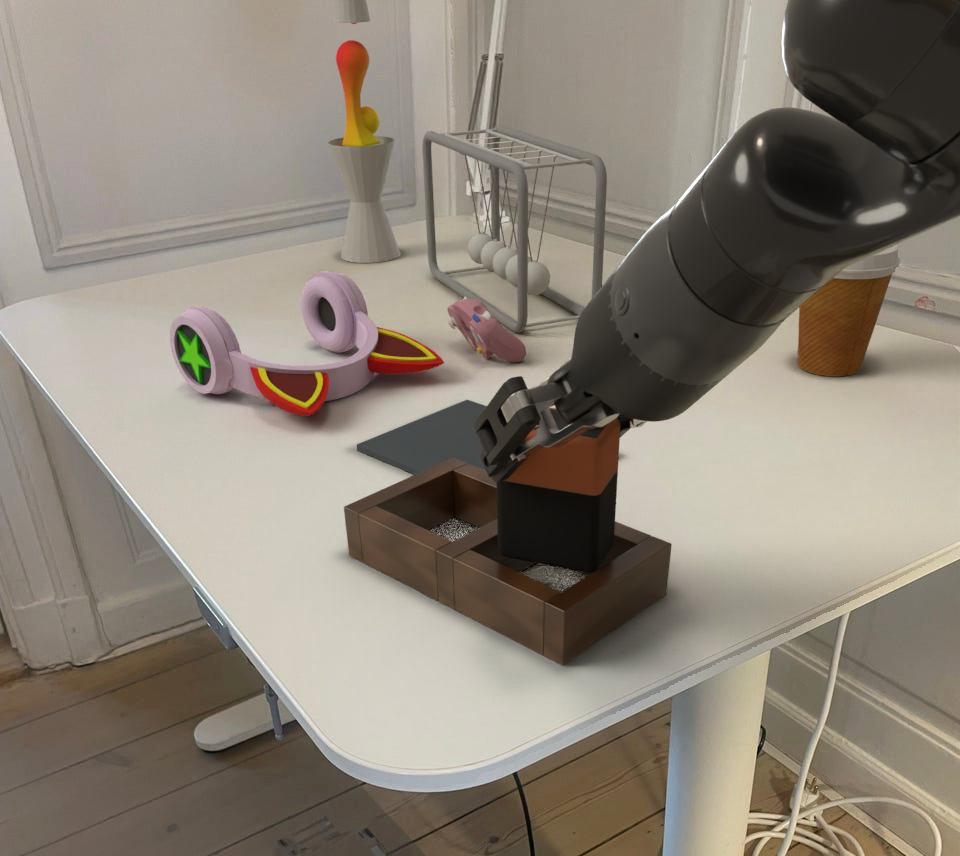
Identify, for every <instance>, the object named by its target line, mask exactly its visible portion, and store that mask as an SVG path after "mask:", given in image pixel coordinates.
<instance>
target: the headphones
mask: <svg viewBox="0 0 960 856" xmlns="http://www.w3.org/2000/svg"><path fill="white" fill-rule="evenodd" d="M300 298H301V299H300V307H301V308H300V309H301V315H302V318H303V319H302V320H303V322H304V324H305V327H306V329H307V331H308V333H309V335H310V336H311V338H312V339H313V340H314V341H315V343H317V344H318V345H319V346H320V347H322V348H323V349H324V350H327V351H330V352H332V353H337V354H341V353H344V352H348V351H350V350H353V348H354V347H356V348H357V349H358V350H357V352H355V353H354V354H353V355H351V356H350V357H348V358H346V359H342V360H340V361H336V362H333V363H332V362H331V363H328V364H327V363H326V364H318V365H317V364H316V365H289V364H288V365H287V364H278V363H271V362H268V361H267V362H266V361H262V360H260V359H255V358H253V357H250V356H248V355H246V354H244V353H242V350H241V348H240V343H239V341H238V338H237V336H236V333H235V332H234V330H233V329H232V327H231V325H230V324H229V323H228V321H227V320H226V319H225V318H224V317H223V316H222V315H221V314H220V313H218V312H217V311H216V310H213V309H211V308H208V307H206V306H203V305H196V306H193V307H189V308H187V309H185V310H184V311H183V313H182V314H181V315H180V316H177V317H176V318H174V320H173V321H172V323H171V325H170V329H169V345H170V349H171V353H172V357H173V359H174V362H175V364H176V367H177V369H178V371H179V373H180V374H181V377H182V378H183V380H184V381H185V382H186V383H187V384H188V385H189V386H190V387H191V388H192V389H193V390H194V391H196V392H197V393H199V394H204V395H205V394H213V395H223V394H227V393H229V392H230V391H232V390H234V389H237V390H238V391H239V392H243V393H245V394H247V395H249V396H253V397H257V398H260V399H264V400H267V401H268V402H270V403H271V404H273V405H274V406H276V407H277V408H278V409H280V410H282V411H284V412H287V413H289V414H293V415H294V416H295V415H296V416H300V417H307V416H308V417H309V416H312V415H314V414H316V413H317V412H319V411H320V410H321V408H322V406H323V405H324V404H325V402H328V401H329V402H330V401H335V400H339V399H342V398H345V397H349V396H351V395H353V394H356V393H357V392H359V391H361V390H362V389H364V388H365V387H366V386H367V385H368V384H369V383H371V380H372V379H373V377H374V375H375V374H381V375H405V374H415V373H420V372H426V371H429V370H432V369H434V368H437V367H440V366H441V365H443V364H445V361H444V360H443V358H442V357H441V356H440V355H438V353H436V351H434V350H433V349H431V348H430V347H428V346H427V345H424V344H423V343H421V342H420V341H418V340H416V339H414V338H412V337H410V336H408V335H406V334H403V333H401V332H398V331H395V330H391V329H387V328H383V327H379V326H377V325H376V323H375V322H374V320H373V319H371V318H370V317H369V312H368V307H367V303H366V300H365V297H364V295H363V292H362V290H361V289H360V288H359V286H358V284H357V283H356V282H355V280H353V278H351V277H349V276H348V275H346V274H345V273H342V272H334V271H331V270H323V271H319V272H316V273H313V274H312V275H311V276H310V277H309V278H308V279H307V281H306V284H305V285H304V287H303V290H302V293H301V297H300Z"/></svg>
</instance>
